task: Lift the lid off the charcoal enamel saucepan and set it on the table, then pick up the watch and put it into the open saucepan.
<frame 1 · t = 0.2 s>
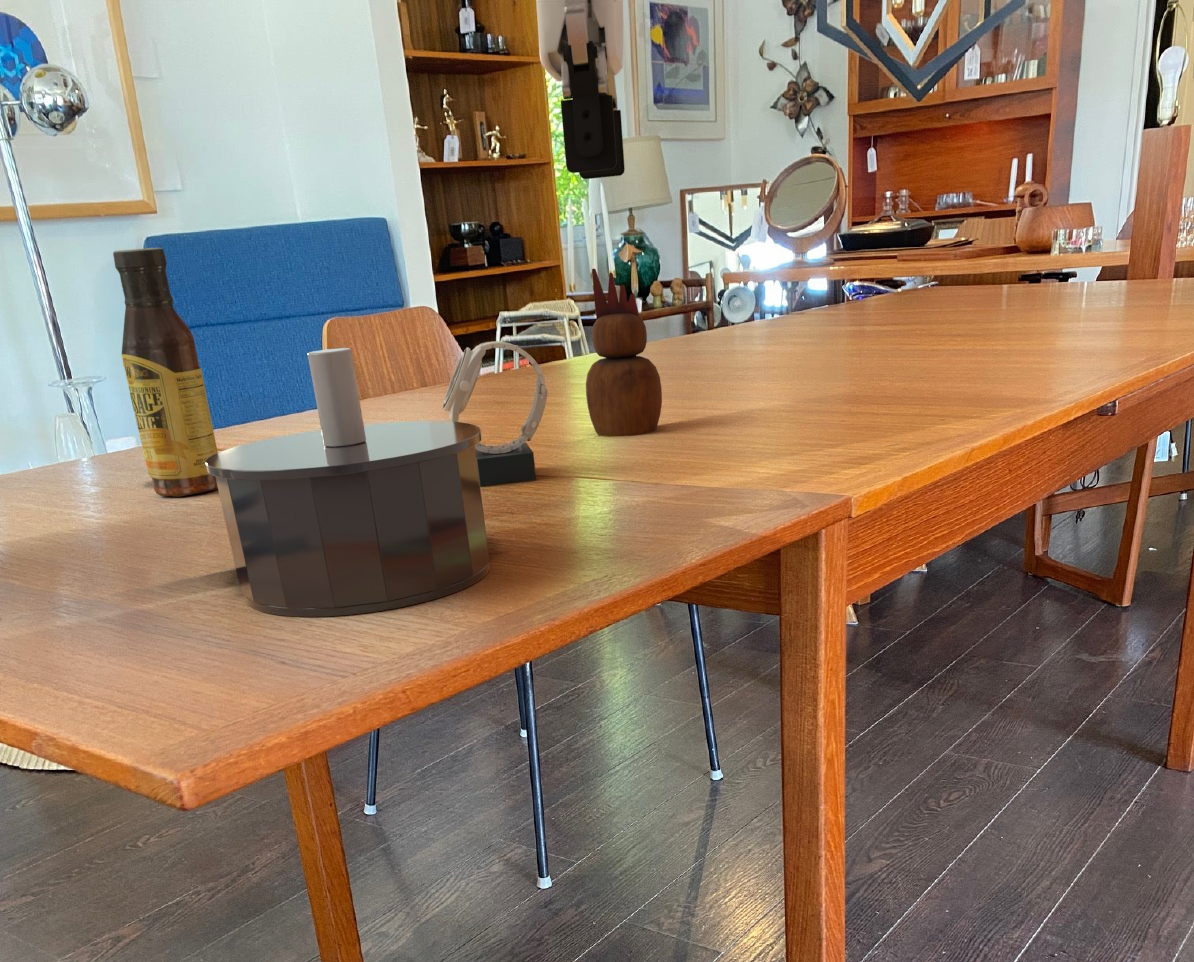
hand: (597, 174, 78), 21 cm above the table, tool pointing down, fingers open, 9 cm apart
watch: (506, 493, 92), on the table
pan: (369, 580, 70), on the table
pan lid: (346, 452, 67), point 7 cm above the table, touching pan
sauce bottle: (191, 494, 105), on the table
wooden figurine: (627, 445, 108), on the table
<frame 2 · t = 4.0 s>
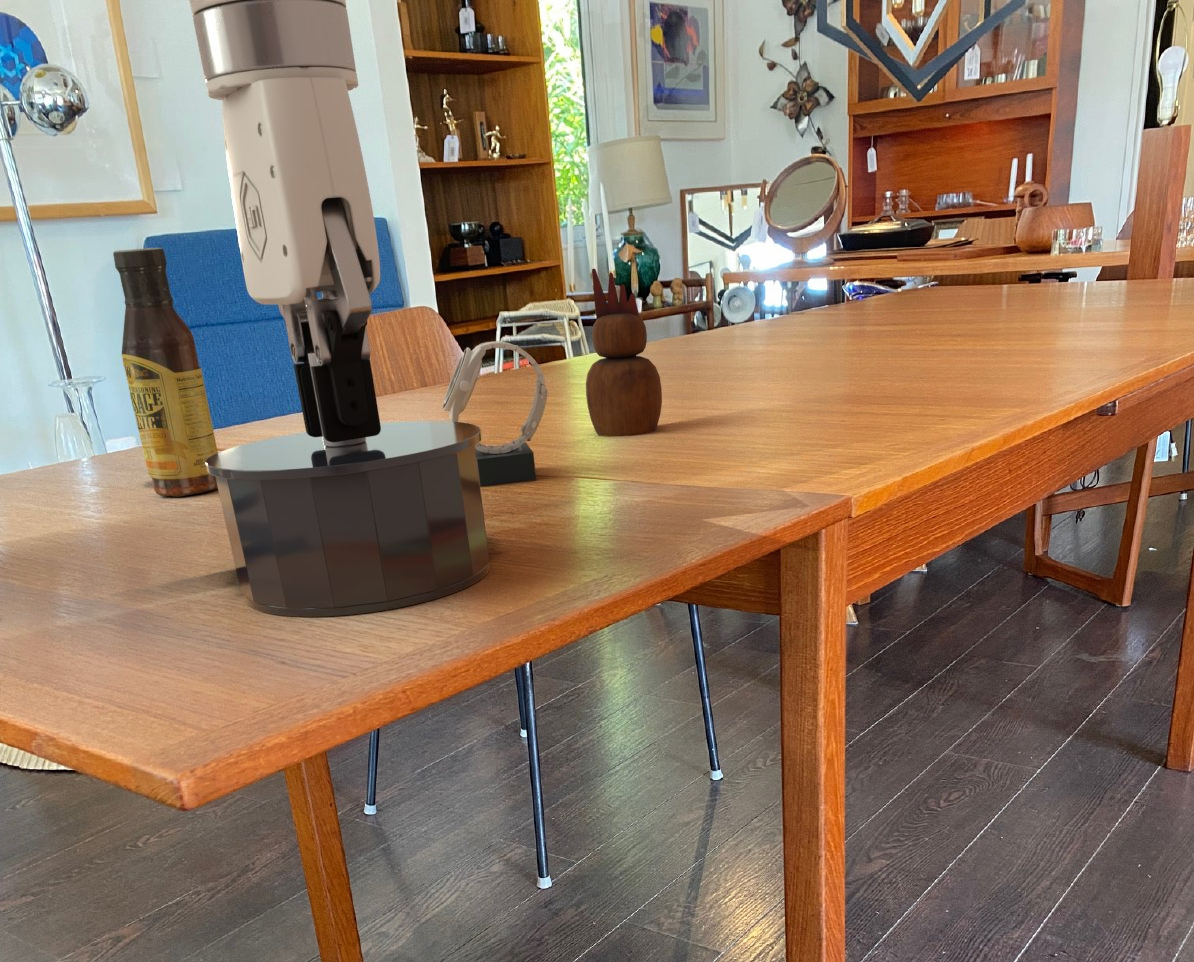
hand: (343, 433, 66), 9 cm above the table, tool pointing down, fingers closed on pan lid, 2 cm apart
pan lid: (346, 452, 67), point 8 cm above the table, touching gripper
everything else where it was.
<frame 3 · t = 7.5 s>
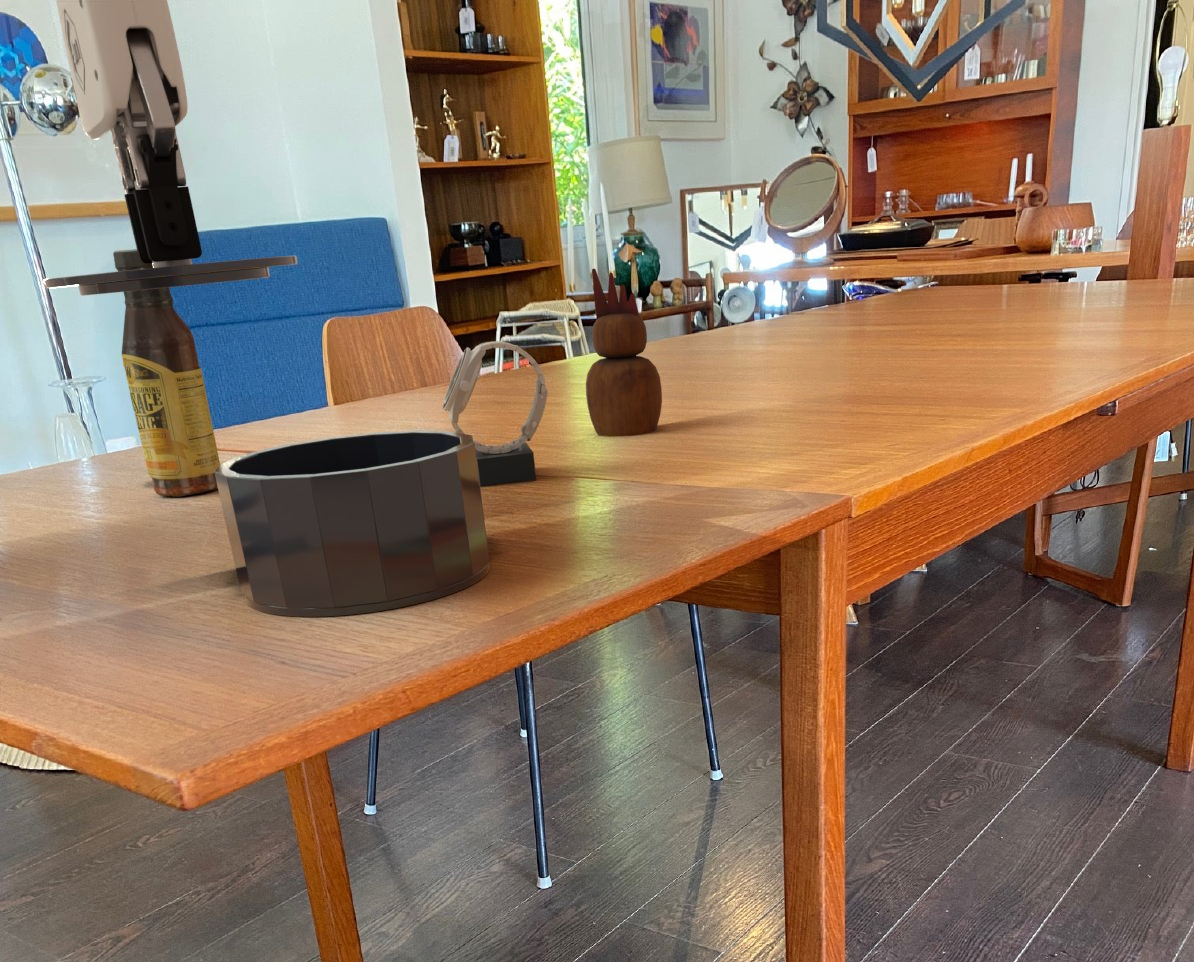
hand: (170, 257, 74), 19 cm above the table, tool pointing down, fingers closed on pan lid, 2 cm apart
pan lid: (175, 275, 75), point 17 cm above the table, touching gripper
everything else where it was.
when the fingers open (2 cm above the table, at t = 11.3 s): pan lid stays where it is, point 1 cm above the table.
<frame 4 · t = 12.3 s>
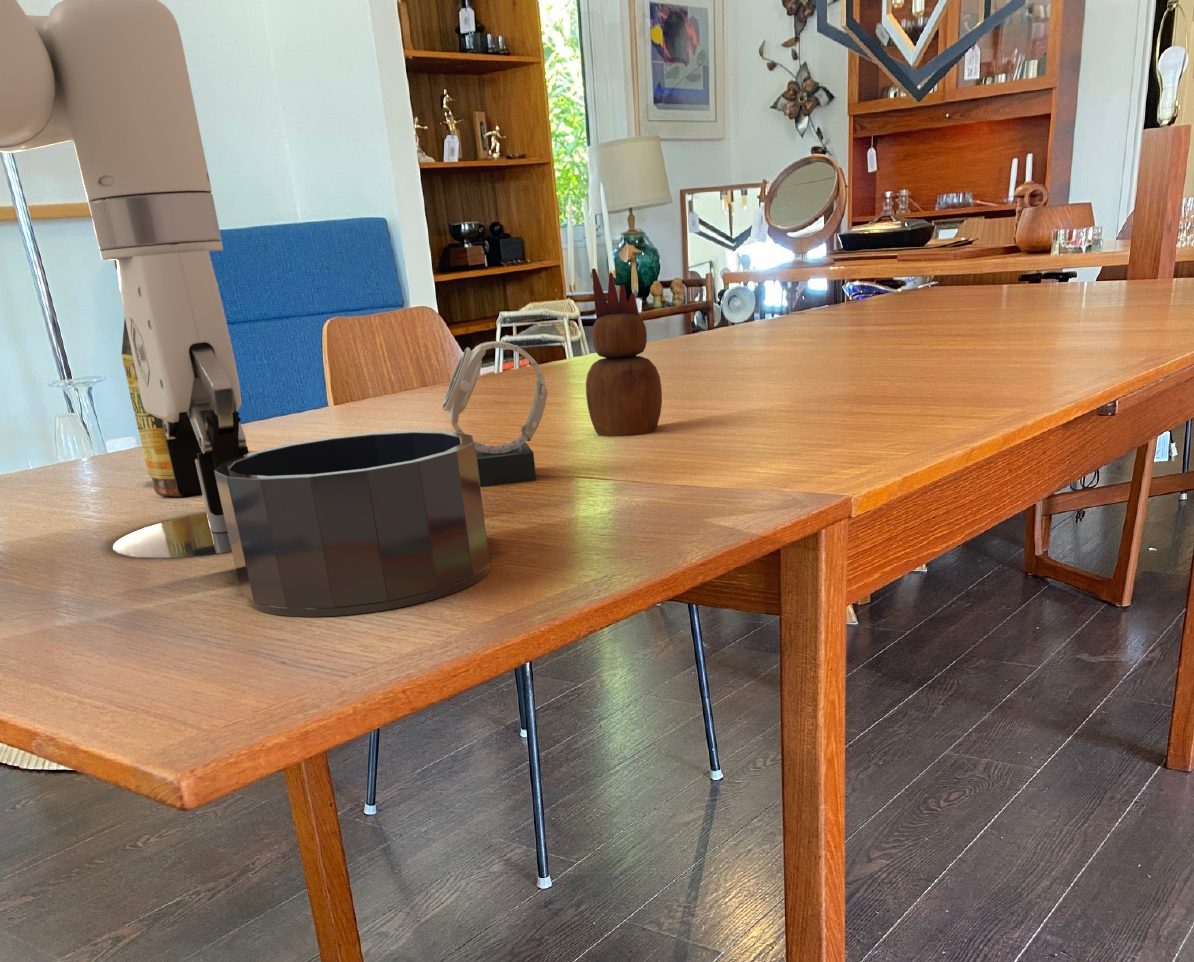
hand: (217, 501, 81), 3 cm above the table, tool pointing down, fingers open, 9 cm apart
pan lid: (229, 535, 82), point 1 cm above the table
everything else where it was.
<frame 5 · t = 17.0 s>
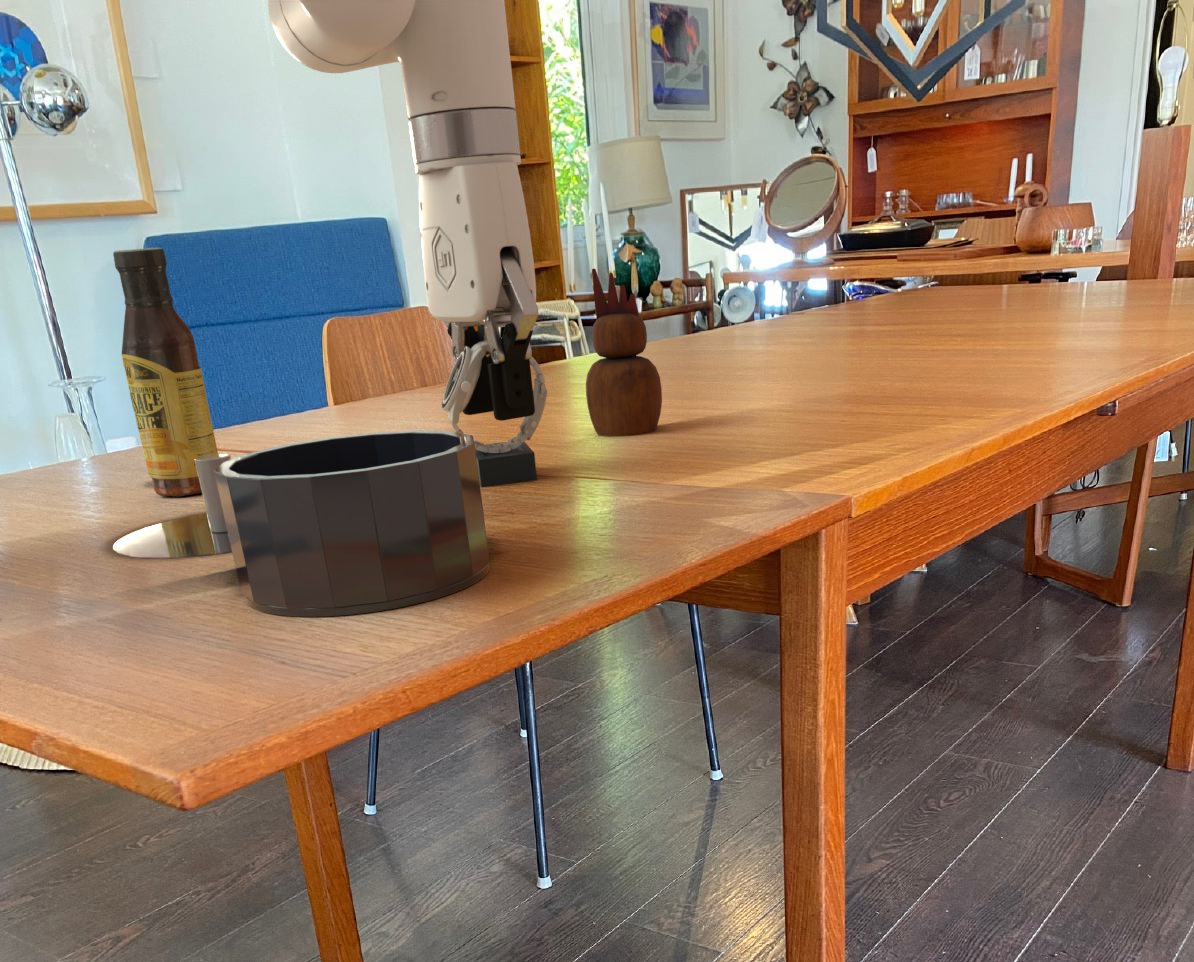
hand: (498, 412, 89), 6 cm above the table, tool pointing down, fingers closed on watch, 5 cm apart
watch: (505, 492, 92), on the table, touching gripper
everything else where it was.
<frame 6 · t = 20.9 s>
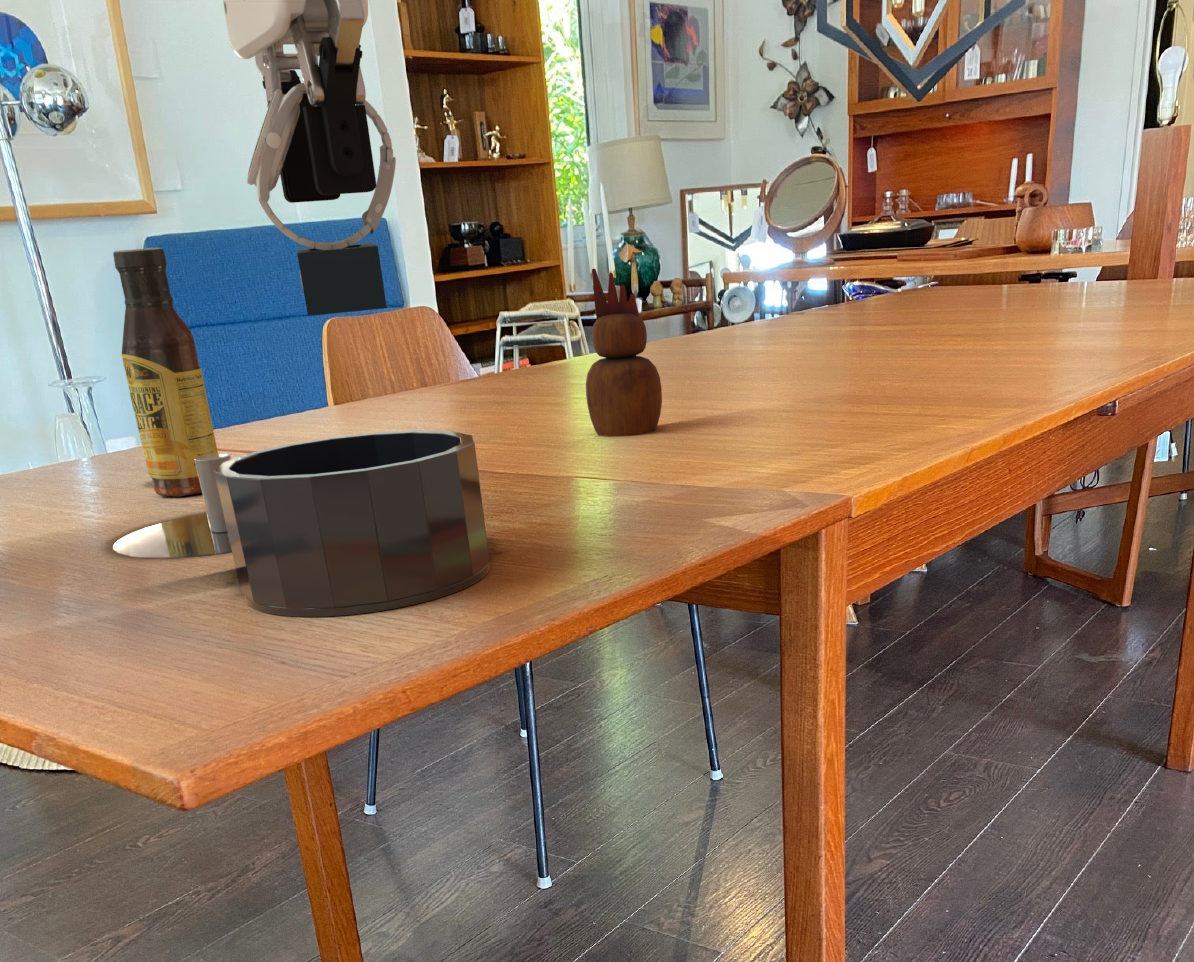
hand: (329, 193, 64), 21 cm above the table, tool pointing down, fingers closed on watch, 5 cm apart
watch: (344, 311, 67), point 15 cm above the table, touching gripper
everything else where it was.
when the fingers open (6 cm above the table, at t = 24.9 s): watch stays where it is, resting on pan.
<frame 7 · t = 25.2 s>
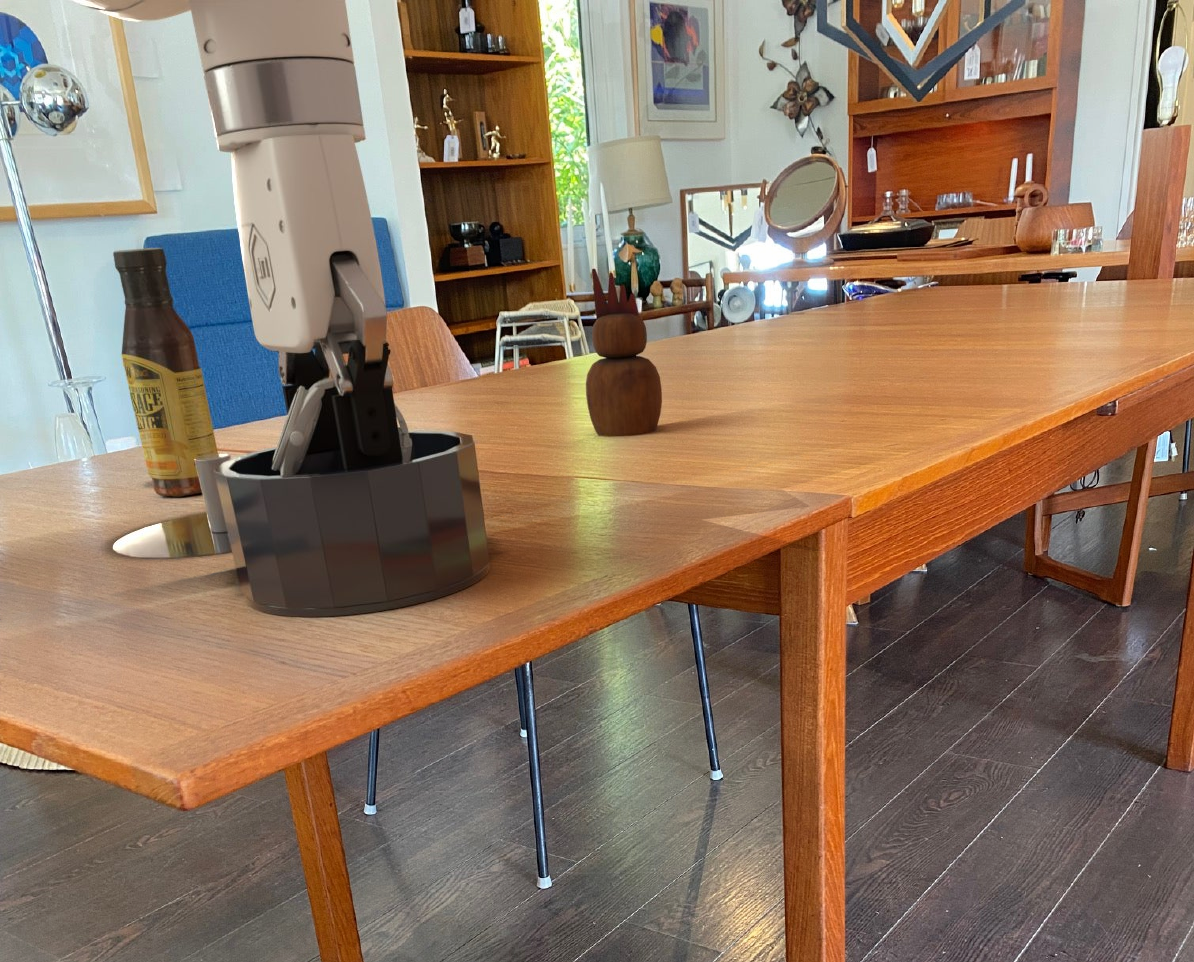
hand: (346, 459, 67), 7 cm above the table, tool pointing down, fingers open, 8 cm apart
watch: (363, 576, 70), resting on pan
everything else where it was.
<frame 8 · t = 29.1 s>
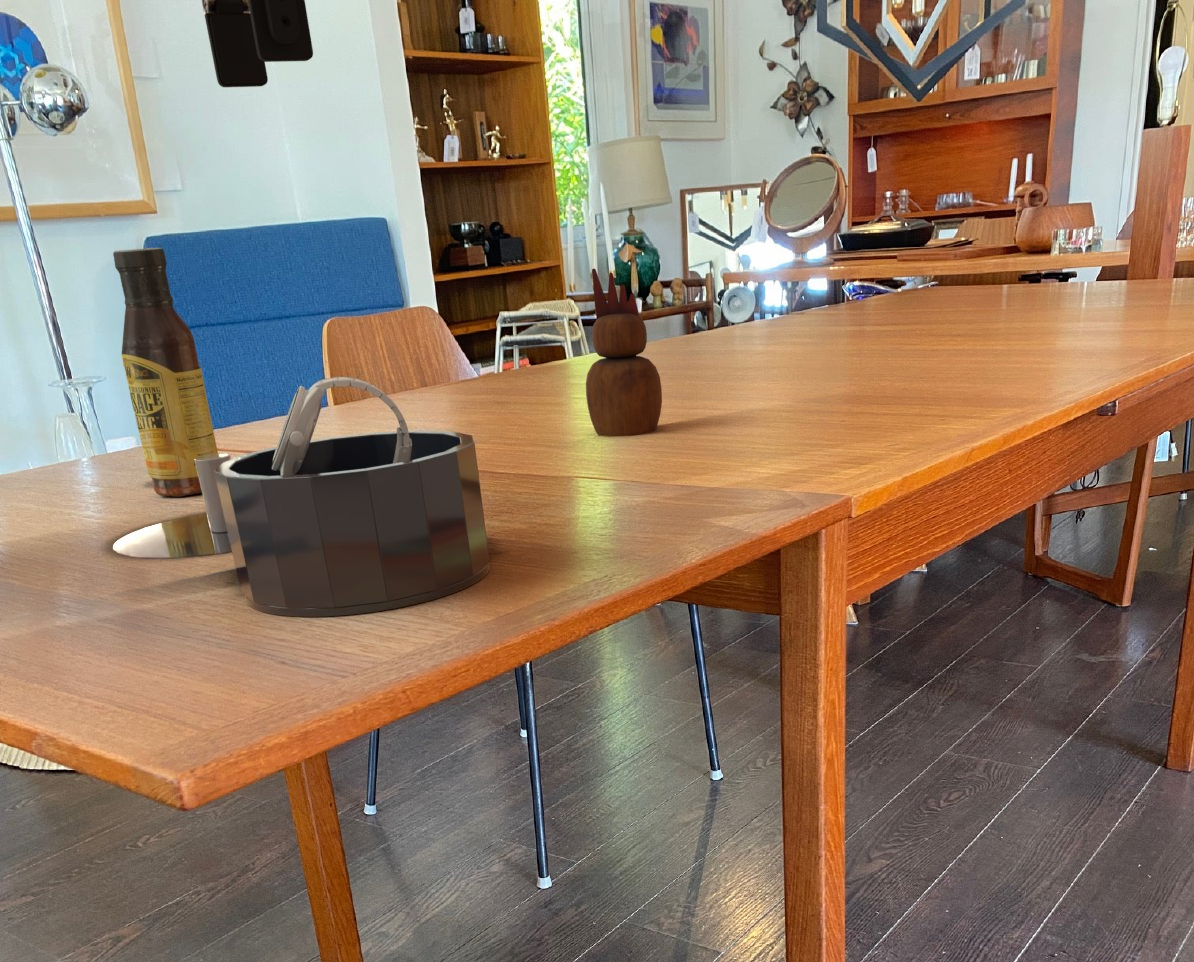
hand: (264, 73, 72), 28 cm above the table, tool pointing down, fingers open, 9 cm apart
nothing on the table moved.
at the end: pan lid inside the target area (0.2 cm from its centre), point 0.6 cm above the table; watch inside the target area in the pan (0.3 cm from its centre), point 0.3 cm above the pan's base; watch tilted 0° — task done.
